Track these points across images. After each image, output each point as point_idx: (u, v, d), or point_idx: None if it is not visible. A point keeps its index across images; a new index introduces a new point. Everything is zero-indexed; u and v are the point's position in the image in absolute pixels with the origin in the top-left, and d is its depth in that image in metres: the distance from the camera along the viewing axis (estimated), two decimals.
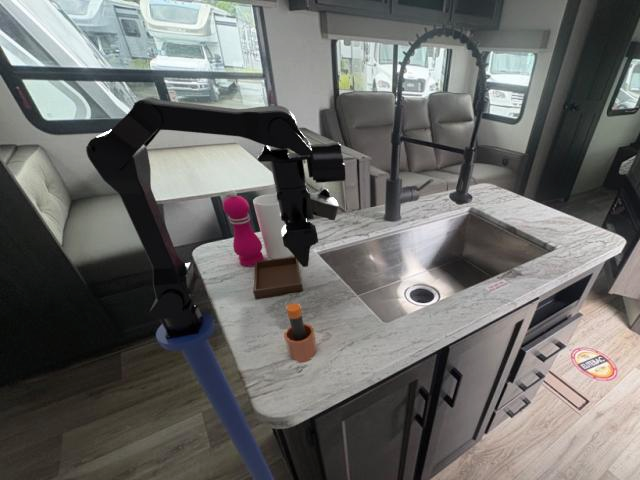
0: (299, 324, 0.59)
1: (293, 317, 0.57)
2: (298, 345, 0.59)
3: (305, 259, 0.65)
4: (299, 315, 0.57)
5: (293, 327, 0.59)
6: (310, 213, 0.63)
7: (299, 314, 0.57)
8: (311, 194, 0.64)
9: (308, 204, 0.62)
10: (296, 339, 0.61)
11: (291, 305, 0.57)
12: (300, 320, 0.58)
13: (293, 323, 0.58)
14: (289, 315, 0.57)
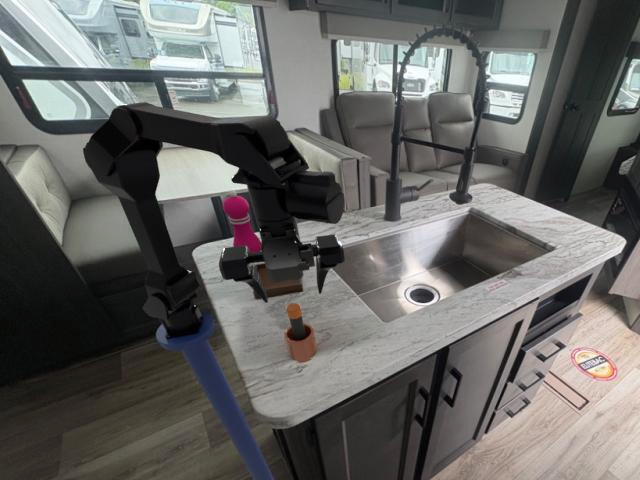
0: (299, 324, 0.59)
1: (293, 317, 0.57)
2: (298, 345, 0.59)
3: None
4: (299, 315, 0.57)
5: (293, 327, 0.59)
6: (262, 254, 0.48)
7: (299, 314, 0.57)
8: (286, 239, 0.47)
9: (261, 243, 0.47)
10: (296, 339, 0.61)
11: (291, 305, 0.57)
12: (300, 320, 0.58)
13: (293, 323, 0.58)
14: (289, 315, 0.57)
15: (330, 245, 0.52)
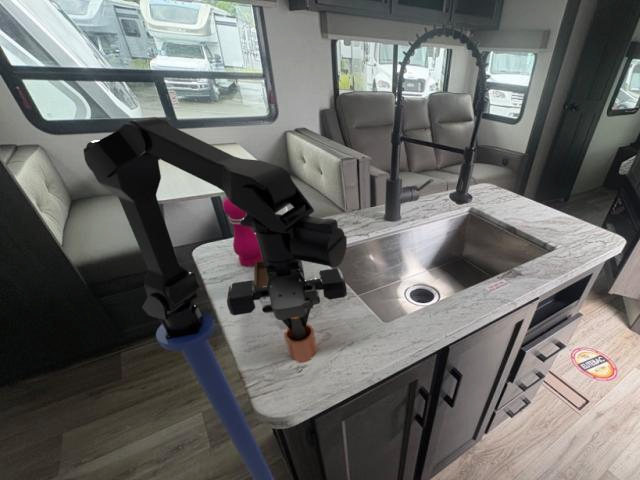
0: (299, 324, 0.59)
1: (293, 317, 0.57)
2: (298, 345, 0.59)
3: None
4: None
5: (293, 327, 0.59)
6: (268, 291, 0.51)
7: None
8: (291, 278, 0.49)
9: (267, 281, 0.50)
10: (296, 339, 0.61)
11: None
12: (300, 320, 0.58)
13: (293, 323, 0.58)
14: None
15: (333, 280, 0.54)
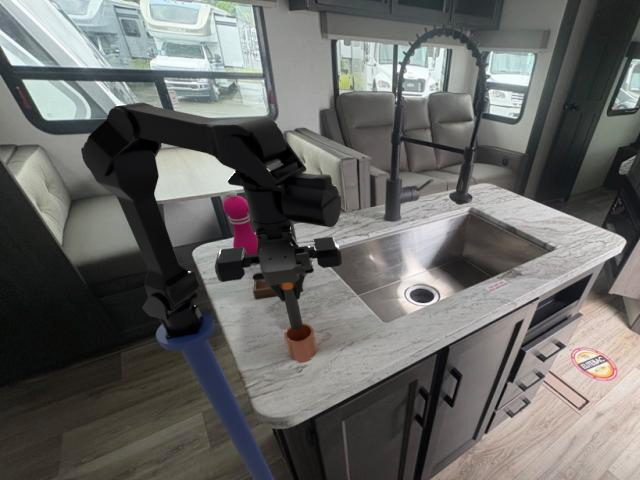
0: (292, 296, 0.56)
1: (286, 288, 0.54)
2: (298, 345, 0.59)
3: None
4: (292, 286, 0.55)
5: (286, 299, 0.56)
6: (258, 256, 0.48)
7: (292, 285, 0.55)
8: (282, 242, 0.47)
9: (257, 245, 0.47)
10: (289, 312, 0.58)
11: None
12: (293, 291, 0.56)
13: (286, 294, 0.55)
14: (281, 285, 0.54)
15: (327, 248, 0.52)
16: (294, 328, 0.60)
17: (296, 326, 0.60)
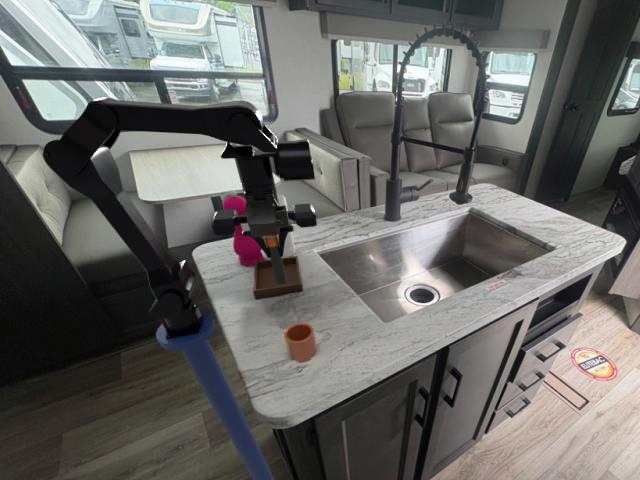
0: (276, 253, 0.67)
1: (270, 245, 0.65)
2: (298, 345, 0.59)
3: None
4: (276, 244, 0.66)
5: (271, 255, 0.67)
6: None
7: (276, 243, 0.66)
8: (266, 202, 0.58)
9: None
10: (274, 268, 0.69)
11: (269, 235, 0.66)
12: (277, 249, 0.67)
13: (271, 251, 0.66)
14: (267, 243, 0.65)
15: (304, 211, 0.63)
16: (279, 283, 0.71)
17: (280, 281, 0.71)
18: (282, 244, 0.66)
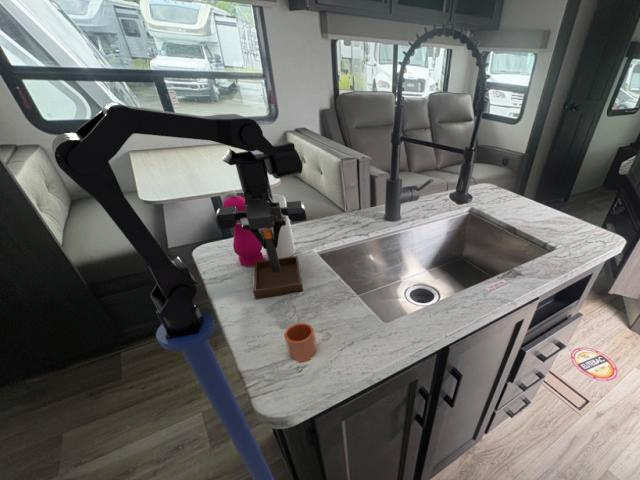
0: (271, 244, 0.77)
1: (266, 237, 0.75)
2: (298, 345, 0.59)
3: None
4: (271, 236, 0.76)
5: (267, 246, 0.77)
6: None
7: (271, 235, 0.76)
8: (262, 200, 0.68)
9: None
10: (270, 258, 0.79)
11: (265, 228, 0.76)
12: (272, 241, 0.77)
13: (266, 243, 0.76)
14: (263, 235, 0.75)
15: (295, 207, 0.73)
16: (274, 271, 0.81)
17: (275, 269, 0.81)
18: (276, 236, 0.76)
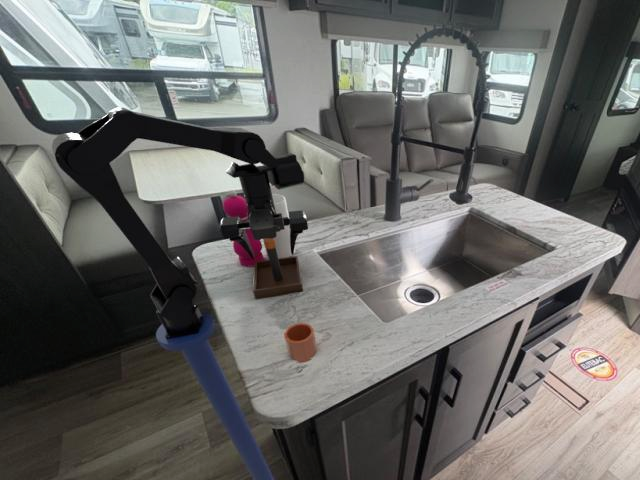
0: (274, 254, 0.78)
1: (269, 248, 0.77)
2: (298, 345, 0.59)
3: None
4: (273, 246, 0.77)
5: (269, 256, 0.79)
6: None
7: (273, 245, 0.77)
8: (265, 211, 0.69)
9: (248, 213, 0.70)
10: (272, 267, 0.80)
11: (267, 239, 0.77)
12: (275, 250, 0.78)
13: (269, 252, 0.78)
14: (266, 246, 0.77)
15: (297, 217, 0.74)
16: (276, 279, 0.83)
17: (277, 278, 0.82)
18: (293, 243, 0.78)
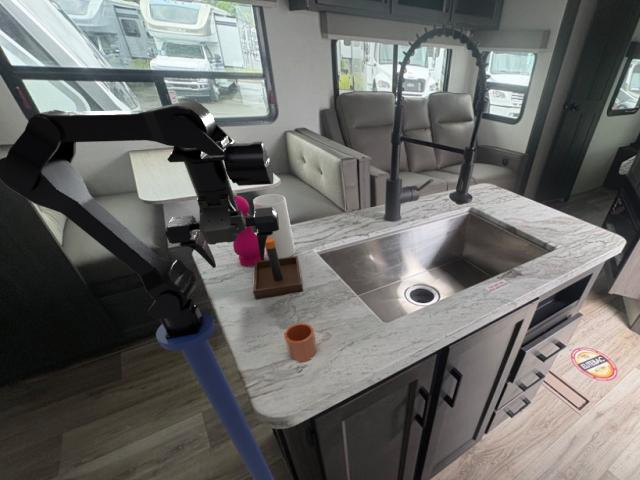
0: (274, 254, 0.78)
1: (269, 248, 0.77)
2: (298, 345, 0.59)
3: None
4: (273, 246, 0.77)
5: (269, 256, 0.79)
6: None
7: (273, 245, 0.77)
8: (221, 208, 0.55)
9: (200, 211, 0.55)
10: (272, 267, 0.80)
11: (267, 239, 0.77)
12: (275, 250, 0.78)
13: (269, 252, 0.78)
14: (266, 246, 0.77)
15: (265, 215, 0.60)
16: (276, 279, 0.83)
17: (277, 278, 0.82)
18: (262, 248, 0.64)
